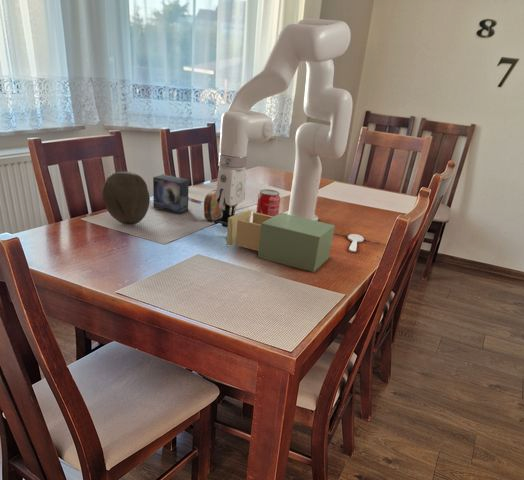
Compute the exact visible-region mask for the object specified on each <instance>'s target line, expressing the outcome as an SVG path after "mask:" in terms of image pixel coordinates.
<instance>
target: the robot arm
mask: <svg viewBox="0 0 524 480" xmlns="http://www.w3.org/2000/svg"><path fill="white" fill-rule="evenodd" d="M351 37H352V35H351V29H350V26H349V25H348V24H347V22H345V21H343V20H337V19H336V20H335V19H323V18H303V19H301V20H299V21H298V22H297V23H290V24H287V25H285V26H284V27H283V28H282V29H281V30H280V32H279V34H278V36H277V37H276V40H275V42H274V45H273V47H272V48H271V51H270V52H269V55H268V57H267V59H266V61H265V63H264V66H263V67H262V69H261V71H260V72H259V73H257V74H255V75H254V76H253V77H252V78H250V79H249V80H248V81H247V82H246V83H245V84H243V85H242V86H241V87H240V88H239V89H238V91H236V93H235V94H234V96H233V98H232V100H231V102H230V104H229V107H228V109H227V110H226V111H224V112H223V113H222V115H221V120H220V136H219V153H218V167H219V168H218V173H217V180H216V181H217V182H216V189H215V190H216V202H217V203H218V204H219V209H220V210H222V212H221V214H222V215H221V216H222V222H226V223H228V218H229V217H231V216H233V215H236V211H237V206H238V205H239V204H241V203H243V202H244V201H245V199H246V185H247V181H246V180H247V173H246V172H247V171H246V167H247V156H248V143H249V142H252V143H257V144H261V143H266V142H268V141H269V140H270V139H271V137H273V134H274V130H275V125H274V122H273V121H274V120H272V118H271V117H270V116H269V115H267V114H266V113H262V112H257V111H253V110H251V109H252V108H253V107H254V106H255V105H256V104H258V103H260V102H261V101H262V100H264V99H268V98H270V97H273V96H276V95H279V94H281V93H284V92H285V91H287V90H288V88H289V87H290V86H291V83H292V80H293V78H294V76H295V74H296V72H297V71H298V68H299V66H300V64H301V63H302V62H305V66H306V67H305V68H306V73H305V74H306V75H305V86H304V95H303V96H304V97H303V112H304V114H305V115H306V116H307V117H309V118H311V119H316V120H318V121H319V120H320V121H324V122H325V121H326V122H330V125H327V124H323V123H317V122H311V121H309V122H308V121H307V122H304V123H302V124H300V125H299V127H298V128H297V129H296V133H295V137H294V138H295V140H294V141H295V158H294V159H295V160H294V169H293V173H292V174H293V175H292V183H291V189H290V196H289V197H290V198H289V205H288V210H286V211H284V212H283V213H284V214H288V215H292V216H297V217H301V218H305V219H310V220H314V221H318V222H319V216H318V215H317V214H316V209H317V203H318V198H319V197H318V196H319V195H318V194H319V190H320V183H321V178H322V172H323V166H322V162H321V159H320V157H322V158H326V159H330V160H331V159H332V160H338V159H341V157H342V156H344V153H345V152H346V149H347V145H348V139H349V134H350V127H351V121H352V116H353V115H352V114H353V107H354V104H353V98H352V95H351V93H350V92H349V91H348V90H346V89H344V88H339V87H334V75H335V65H334V60H333V59H336V58H339V57H341V56H342V55H344V54H345V53H346V52H347V50H348V48H349V46H350V43H351ZM221 227H223V228H228V226H227V225H223V224H221Z"/></svg>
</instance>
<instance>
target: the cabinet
mask: <svg viewBox="0 0 524 480" xmlns="http://www.w3.org/2000/svg"><path fill="white" fill-rule="evenodd" d="M335 228H336V225H335V224H330V223H326V222H323V221H319V220H318V221H314V220H310V219H305V218H301V217H297V216H292V215H288V214H284V212H280V213H279V214H278V215H276V216H274V217H272V218H270V219H268V220H266V221H265V222H263V223H261V232H260V241H259V250H258V251H257V258H259V259H263V260H266V261H269V262H274V263H277V264H282V265H285V266H288V267H293V268H296V269H300V270H304V271H307V272H310V273H315V271H317V270H318V269H319V268H320V267H321V266H322V265H323V264H324V263H325V262H327V260H329V259H330V254H331V249H332V244H333V239H334V233H335Z"/></svg>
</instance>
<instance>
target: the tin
mask: <svg viewBox="0 0 524 480" xmlns="http://www.w3.org/2000/svg"><path fill="white" fill-rule="evenodd" d="M221 214H222V210H220V209H219V204H218V203H217V202H216V189H212V190H211V191H210V192H208V193H207V194H206V195H205V197H204V199H203V216H204V218H205V220H208V221H212V222H214V219H217V218H219V217H220V215H221Z"/></svg>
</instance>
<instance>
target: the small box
mask: <svg viewBox="0 0 524 480" xmlns="http://www.w3.org/2000/svg"><path fill="white" fill-rule="evenodd" d="M152 178H153V179H152V182H153V184H152V185H153V190H152V191H153V193H152V194H153V196H152V197H153V208H154V209H157V210H162V211H166V212H170V213H174V214H177V215H181V214H183V213H186V212H187V211H189V190H190V189H189V188H190V187H189V186H190V185H189V183H190V179H187V178H182V177H178V176H174V175H170V174H169V175H168V174H165V173H162V174H159V175H156V176H152Z"/></svg>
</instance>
